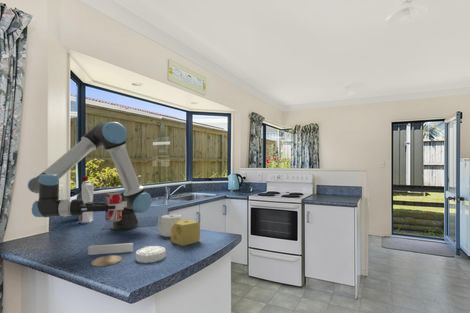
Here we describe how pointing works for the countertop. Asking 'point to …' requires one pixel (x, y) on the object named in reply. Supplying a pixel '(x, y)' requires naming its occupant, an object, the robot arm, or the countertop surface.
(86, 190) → the white bottle
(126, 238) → the countertop surface
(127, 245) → the divider
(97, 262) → the coaster
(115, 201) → the soda can
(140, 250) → the mooncake
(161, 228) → the toilet tissue
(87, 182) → the liquor
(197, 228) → the cheese
